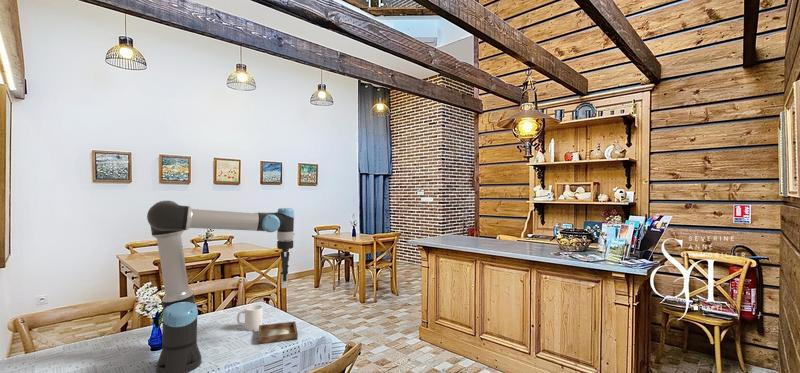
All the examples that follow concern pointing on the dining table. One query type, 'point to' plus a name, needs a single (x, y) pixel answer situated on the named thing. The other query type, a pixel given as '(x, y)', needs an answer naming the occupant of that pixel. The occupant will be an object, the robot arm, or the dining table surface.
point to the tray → (277, 332)
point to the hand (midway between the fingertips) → (284, 284)
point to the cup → (252, 317)
